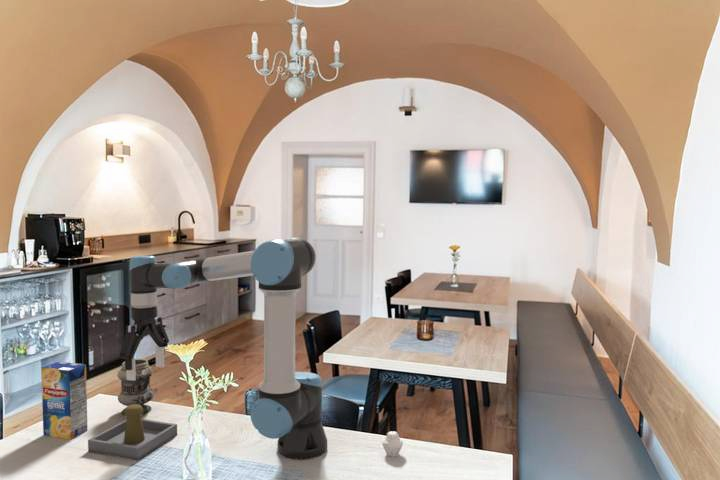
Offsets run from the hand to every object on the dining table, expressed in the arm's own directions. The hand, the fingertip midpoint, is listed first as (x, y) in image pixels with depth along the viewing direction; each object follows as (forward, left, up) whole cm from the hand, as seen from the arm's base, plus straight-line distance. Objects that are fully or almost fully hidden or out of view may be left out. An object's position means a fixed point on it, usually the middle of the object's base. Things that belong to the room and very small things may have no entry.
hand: (146, 373), depth 165 cm
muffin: (-76, -15, -22) cm, 80 cm away
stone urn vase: (+19, -18, -22) cm, 34 cm away
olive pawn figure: (+2, +3, -21) cm, 21 cm away
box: (+2, +3, -21) cm, 22 cm away
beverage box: (+28, +4, -22) cm, 36 cm away
